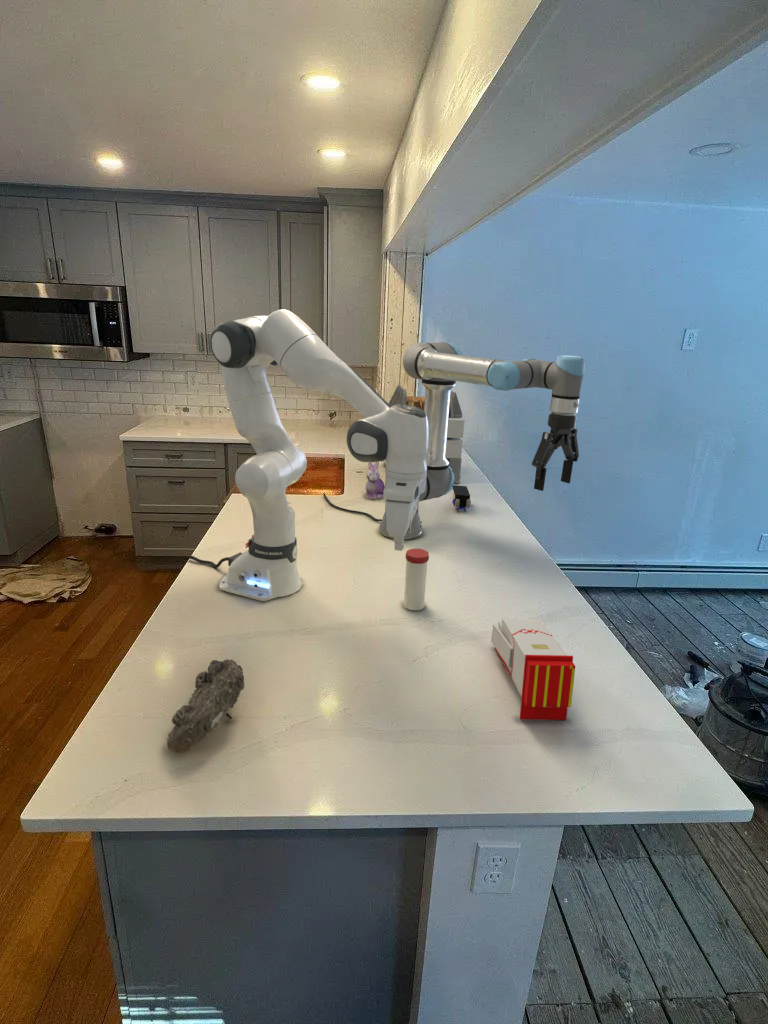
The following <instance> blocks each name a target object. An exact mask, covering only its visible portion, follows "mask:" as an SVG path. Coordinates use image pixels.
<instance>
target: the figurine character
mask: <svg viewBox="0 0 768 1024" xmlns="http://www.w3.org/2000/svg"><path fill="white" fill-rule="evenodd" d="M452 490H453V494H452V501H451V503H452V504H453V507H454V508H456V511H457V512H460V510H463V511H464V513H466V512H467V509H470V508H471V505H472V504H471V501H472V500H471V494H470V491H469V488H468V486H467V485H456V484H453V487H452ZM466 508H467V509H466Z"/></svg>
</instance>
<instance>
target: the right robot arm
mask: <svg viewBox="0 0 768 1024" xmlns="http://www.w3.org/2000/svg"><path fill="white" fill-rule="evenodd" d="M585 365H586V360H585V358H584V357H582V356H578V355H566V354H565V355H564V354H563V355H558V356H557V357H556V360H555V361H549V360H541V359H536V358H524V359H521V360H506V359H505V360H504V359H503V360H502V359H496V358H487V357H479V356H471V355H464V354H463V352H462V350H461V349H460V347H459V346H457V345H456V344H455V343H451V342H445V341H443V342H442V341H441V342H440V341H439V342H438V341H437V342H417V343H414V344H412V345H411V346H409V347H408V348H407V350H406V351H405V353H404V355H403V358H402V366H403V369H404V372H405V373H406V374H407V375H408V376H409V377H411V378H412V379H415V380H421V385H422V386H423V387H424V389H425V392H424V397H425V404H424V412H425V414H426V416H427V419H428V429H429V442H428V452H427V455H426V465H427V477H426V490H425V492H424V493H421V494H420V497H419V504H418V509H417V511H416V513H415V515H414V517H413V519H412V524H411V532H410V534H409V535H405V536H404V541H410V540H415V539H418V538H420V537H421V536H422V535H423V525H422V524H423V520H421V518H420V515H419V507H420V506H419V505H420V502H423V501H427V500H431V499H437V498H440V497H443V496H446V495H448V493H450V492H451V490H453V485H455V483H454V473H452V469H451V467H450V466H449V462H448V461H447V459H446V458H445V453H446V441H447V428H448V416H449V404H450V392H451V391H452V389H453V388H454V387H455V386H456V384H457V382H461V383H465V384H473V385H479V386H487V387H491V388H492V389H494V390H496V391H503V392H504V391H511V390H520V389H532V388H533V389H534V388H539V389H546V390H551V398H550V404H549V413H548V418H547V419H548V420H547V426H548V427H549V428H550V431H549V432H548V431H543V432H542V435H541V440H540V442H539V445H538V447H537V449H536V452H535V454H534V457H533V460H532V461H531V466H533V467H535V475H534V477H535V478H534V485H533V489H534V490H537V491H539V492H543V491H544V489H545V484H546V483H545V482H546V476H547V468H546V466H547V465H548V463H549V461H550V459H551V457H552V456H553V454H554V453H555V451H556V450H557V449H558V448H560V447H561V449H562V452H563V455H564V458H565V459H563V463H562V468H561V469H562V470H561V475H560V482H562V483H566V484H571V478H572V472H573V466H574V463H576V462H578V461H579V457H580V453H579V444H578V428H576V423H577V419H578V416H577V414H578V412H579V411H578V410H579V406H580V397H581V391H582V385H583V380H584V376H585ZM322 495H323V497H324V499H325V501H326V502H327V503H328V504H329V505H330V506H331V507H332V508H335V509H338V510H340V511H344V512H348V513H353V514H361V515H365V516H367V517H368V518H370V519H371V520H373V521H375V522H379V527H378V533H379V534H380V535H381V536H382V537H385V538H387V539H389V540H394V537H392V536H389V535H388V533H387V526H386V503H385V504H384V505H385V507H384V508H385V509H384V513H383V515H382V518H376V517H374V516H373V515H372V514H370V513H368V512H365V511H359V510H353V509H348V508H345V507H340V506H337V505H335V504H334V503H332V502H331V501H330V500H329V499H328V497H327V495H326V493H325V492H322ZM386 501H387V500H385V502H386Z"/></svg>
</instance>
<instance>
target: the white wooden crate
mask: <svg viewBox="0 0 768 1024" xmlns="http://www.w3.org/2000/svg"><path fill="white" fill-rule="evenodd" d="M407 394H408V393H407V390H406V389H404V388H403V387H402V385H399V384H398V385H397V386H396V388H395V390H394V392H393V394H392V395H391V398H390V400H389V402H387V403H388V404H390V405H391V406H393V405H397V404H405V405H412V406H415V407H418V408H420V409H421V410H422V411H424V404H425V396H415V395H414V396H413V395H412V396H411V395H407ZM464 429H465V419H464V418H463V411H462V408H461V405H460V402H459V398H458V395H457V392H455V391H453V390H451V392H450V404H449V416H448V428H447V441H446V453H445V458H446V459H447V461H448V462H449V466H450V467H451V469H452V473H454V484H455V483H456V484H459V483H461V472H462V461H463V460H462V453H463V442H464V441H463V440H462V439H463V438H464V431H465V430H464ZM382 463H383V466H384V467H386V464H385V463H384V462H382Z"/></svg>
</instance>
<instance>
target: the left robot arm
mask: <svg viewBox="0 0 768 1024" xmlns="http://www.w3.org/2000/svg"><path fill="white" fill-rule="evenodd" d="M209 339H210V341H209V343H210V345H209V346H210V350H211V353H212V355H213V357H214V359H215V361H217V363H219V365H221V375H222V376H221V377H222V381H223V387H224V390H225V396H226V399H227V402H228V406H229V409H230V412H231V416H232V418H233V421H234V425H235V427H236V431H237V433H238V434H239V435H240V436H241V437H243V439H246V440H247V441H248V443H249V444H250V445H251V447H252V448H253V450H254V452H255V453H256V454H255V455H252V456H251V457H248V458H247V459H246V460H245V461H244V462H243V463H242V464H241V465H240V466H239V467H238V468H237V469H236V471H235V475H234V482H235V483H234V484H235V486H236V488H237V491H238V492H239V493H240V494H241V495H242V496H243V497H244V498H246V499H247V502H248V503H249V507H250V509H251V514H252V524H253V534H252V535H251V538H249V539H248V540H247V542H246V543H245V549H247V548H248V549H247V550H246V551H244V552H237V553H236V554H233V555H231V556H227V557H223V558H221V559H220V560H219V561H218V562H217V564H216V563H214V562H213V561H210V560H203V559H200V558H198V557H196V556H194V555H187V556H186V557H185V558H184V560H185V561H187V560H190V559H191V560H193V561H195V562H197V563H200V564H205V565H209V566H212V567H213V568H214V569H215V568H216V569H218V568H219V567H221V565H223V562H228V563H227V564H228V565H227V566H229V567H228V570H227V573H226V574H225V575H224V576H223V577H222V578H221V579H220V581H219V590H220V591H223V592H227V593H230V594H233V595H234V594H235V595H238V596H241V597H246V598H249V599H253V600H256V601H261V602H267V601H270V600H272V599H277V598H281V597H287V596H290V595H293V594H295V593H297V592H298V591H299V590H300V589H301V587H302V584H303V583H302V580H301V577H300V573H299V569H298V562H297V558H298V540H297V537H296V513H295V511H294V509H293V507H291V506H290V505H289V502H288V499H287V488H288V487H290V486H291V485H293V484H295V483H296V482H298V481H299V480H300V479H301V478H302V476H303V475H304V473H305V472H306V470H307V467H308V460H307V456H306V454H305V453H304V451H303V450H302V449H301V448H300V447H298V446H297V445H296V444H295V443H294V442H293V440H292V439H291V437H290V436H289V434H288V433H287V430H286V429H285V427H284V425H283V422H282V421H281V418H280V415H279V412H278V408H277V406H276V403H275V399H274V396H273V394H272V390H271V387H270V383H269V381H268V378H267V369H268V367H269V365H272V366H273V367H275V366H279V368H281V370H282V371H283V373H284V374H285V376H287V377H288V378H289V380H291V382H293V383H294V384H295V385H297V386H298V387H300V388H301V389H303V390H305V391H309V392H316V393H324V394H328V395H332V396H336V397H338V398H341V399H343V400H345V401H346V402H347V403H348V404H350V405H351V406H352V407H353V408H354V409H355V410H356V411H357V412H358V413H359V414H360V415H361V416H362V418H360V419H357V420H356V421H354V422H352V423H351V424H350V426H349V427H348V430H347V432H346V445H347V449H348V451H349V453H350V455H351V456H352V457H353V458H354V459H355V460H357V461H359V462H362V463H369V462H371V463H376V462H379V463H385V464H386V466H385V476H384V477H385V478H384V486H385V488H384V493H383V497H382V499H383V500H385V504H386V526H387V533H388V535H389V536H392V537H394V539H393V541H394V550H395V551H398V552H402V551H404V547H405V540H404V536H405V535H409V534H410V532H411V524H412V519H413V517H414V515H415V513H416V511H417V509H418V510H419V508H418V504H419V505H420V502H419V497H420V494H421V493H424V492H425V490H426V477H427V465H426V455H427V452H428V442H429V429H428V419H427V416H426V414H425V412H424V411H422V410H421V409H420V408H418V407H415V406H412V405H405V404H397V405H393V406H391V405H390V404H388V403H389V402H388V401H386V399H384V398H383V397H382V396H381V395H380V394H379V393H378V392H377V390H375V389H374V388H373V387H372V386H371V385H370V384H369V383H368V382H367V381H366V380H365V379H364V378H363V377H362V376H361V375H360V374H358V373H357V371H356V370H354V369H353V368H352V367H351V366H349V365H348V364H347V363H345V362H344V361H343V360H342V359H341V358H340V357H339V356H338V355H337V354H336V353H335V352H333V351H332V349H330V348H329V346H328V345H327V344H326V343H325V342H324V341H323V340H322V339H321V337H319V335H318V334H317V333H316V332H315V331H314V330H313V329H312V328H311V326H309V325H308V324H307V323H306V322H305V321H303V320H302V318H300V317H299V316H298V315H297V314H295V313H293V312H292V311H291V310H288V309H277V310H274V311H272V312H271V313H269V314H268V315H250V316H247V317H243V318H239V319H235V320H227V321H224V322H221V323H220V324H217V325H216V326H215V327H214V328H213V329H212V331H211V334H210V338H209ZM386 500H387V501H386Z"/></svg>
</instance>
